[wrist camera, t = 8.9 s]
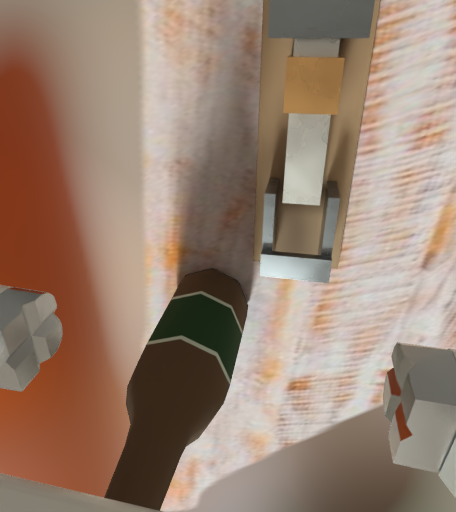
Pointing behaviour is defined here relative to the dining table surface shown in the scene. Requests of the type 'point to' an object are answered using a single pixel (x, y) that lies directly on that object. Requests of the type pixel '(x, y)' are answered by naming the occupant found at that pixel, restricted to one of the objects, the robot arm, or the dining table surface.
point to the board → (338, 146)
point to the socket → (320, 19)
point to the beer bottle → (179, 384)
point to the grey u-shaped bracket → (298, 263)
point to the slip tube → (310, 115)
